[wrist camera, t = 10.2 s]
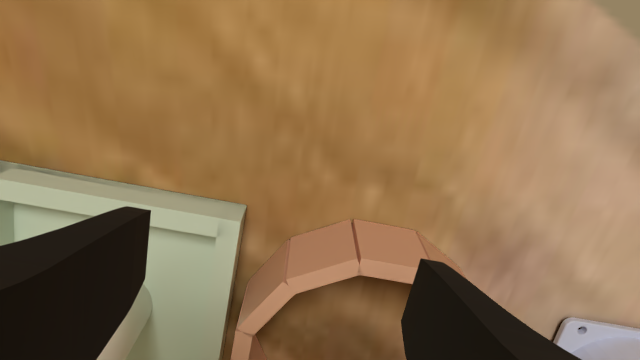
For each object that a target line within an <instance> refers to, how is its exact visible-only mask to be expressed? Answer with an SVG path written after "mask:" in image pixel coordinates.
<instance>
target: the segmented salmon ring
mask: <svg viewBox="0 0 640 360" xmlns="http://www.w3.org/2000/svg"><path fill="white" fill-rule="evenodd" d="M421 258H422V259H428V260H433V261H439V262H443V263H445V264H447V265H448V266H450V267H451V268H453V269H454V270H455V271H457V272H458V273H459V274H461V275H462V276H463V277H464V278H466V277H465V276H464V274H463V272H462V270H461V269H460V267H459V266H457V265H456V264H455V263H454V262H453V261H451V260H450V259H449V258H448V257H447V256H446V255H444V254H443V253H442V252H441V251H440V250H439V249H437V248H436V247H435V246H434V245H433V244H431V243H430V242H429V241H428V240H427V239H426V238H424V237H423V236H422V235H421V234H420V233H419V232H415V230H411V229H406V228H400V227H395V226H389V225H384V224H378V223H373V222H367V221H362V220H356V219H353V223H351V220H350V219H349V220H346V221H343V222H339V223H336V224H333V225H330V226H326V227H323V228H320V229H317V230H313V231H310V232H307V233H304V234H301V235H297V236H294V237H291V240H287V241H286V242H285V243H284V244H283V245H282V246H281V247H280V248H279V249H278V250H277V251H276V252H275V253H274V254H273V255H272V257H271V258H270V259H269V260H268V261H267V262H266V263H265V264H264V265H263V266H262V267H261V268H260V269H259V270H258V271H257V272H256V273H255V274H254V275H253V276H252V277H251V279H250V280H249V282H248V284H247V288H246V292H245V296H244V300H243V304H242V307H241V311H240V315H239V319H238V323H237V327H236V331H235V336H234V342H233V348H232V354H231V360H267V358H266V356H265V354H264V352H263V350H262V348H261V346H260V343H259V341H258V339H257V337H256V335H255V333H256V332H257V331H258V330H259V329H260V328H261V327H262V326H263V325H264V324H265V323H266V322H267V321H268V320H269V319H270V318H271V317H272V316H273V315H274V314H275V313H276V312H277V311H278V310H279V309H280V308H281V307H282V306H283V305H284V304H285V303H287V302H288V301H289V300H290V299H291V298H292V297H293V296H294V295H295V294H297V293H300V292H304V291H307V290H310V289H314V288H317V287H321V286H324V285H327V284H331V283H334V282H337V281H341V280H344V279H348V278H351V277H354V276H358V275H363V276H369V277H375V278H380V279H386V280H392V281H398V282H404V283H409V284H413V281H414V278H415V275H416V272H417V269H418V265H419V262H420V259H421Z"/></svg>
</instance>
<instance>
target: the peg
mask: <svg viewBox="0 0 640 360" xmlns="http://www.w3.org/2000/svg"><path fill="white" fill-rule="evenodd" d="M151 311H152V299H151V295H150V293H149V291H148V289H147V288H146V286H145V285H144V284H142V287H141V289H140V291H139V293H138V295H137V297H136V299H135V301H134V303H133V305H132V307H131V309H130V311H129V312H128V314H127V315H126V317H125V318H124V320H123V321H122V323H121V324H120V326H119V327H118V329H117V330H116V332H115V333H114V335H113V336H112V338H111V339H110V341H109V342H108V343H107V345H106V346H105V348H104V349H103V351H102V352H101V354H100V355H99V357H98V358H97V360H125V359H126V357H127V356H128V354H129V352H130V350H131V349H132V347H133V345H134V343H135V341H136V340H137V338H138V336H139V334H140V333H141V331H142V329H143V327H144V326H145V324H146V322H147V320H148V318H149V317H150V314H151Z"/></svg>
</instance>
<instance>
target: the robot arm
mask: <svg viewBox="0 0 640 360" xmlns="http://www.w3.org/2000/svg"><path fill="white" fill-rule="evenodd" d="M150 217H151V210H146V209H141V208H135V207H129V206H126V207H121V208H117V209H114V210H111V211H108V212H105V213H102V214H100V215H97V216H94V217H91V218H88V219H86V220H83V221H80V222H77V223H74V224H71V225H69V226H66V227H63V228H60V229H56V230H53V231H50V232H47V233H44V234H40V235H37V236H34V237H31V238H28V239H24V240H21V241H17V242H13V243H9V244H5V245H2V246H0V360H97V358H98V357H99V355H100V354H101V352H102V351H103V349H104V348H105V346H106V345H107V343H108V342H109V341H110V339H111V338H112V336H113V335H114V333H115V332H116V330H117V329H118V327H119V326H120V324H121V323H122V321H123V320H124V318H125V317H126V315H127V314H128V312H129V311H130V309H131V307H132V305H133V303H134V301H135V299H136V297H137V295H138V293H139V291H140V289H141V287H142V284H143V282H144V280H145V276H146V264H147V252H148V240H149V229H150ZM401 325H402V334H403V342H404V349H405V355H406V359H407V360H640V329H638V328H632V327H626V326H621V325H615V324H609V323H603V322H597V321H591V320H586V319H580V318H574V317H570V318H567V319H565V320H564V321H563V322H562V324H561V326H560V328H559V330H558V332H557V335H556V337H555V339H554V341H553V342H551V341H550V340H548V339H547V338H545V337H543V336H542V335H540V334H539V333H537V332H536V331H534V330H533V329H531V328H530V327H528V326H527V325H526V324H524V323H523V322H521V321H520V320H519V319H517V318H516V317H514V316H513V315H512V314H510V313H509V312H508V311H506V310H505V309H504V308H502V307H501V306H500V305H498V304H497V303H496V302H495V301H493V300H492V299H491V298H489V297H488V296H487V295H486V294H484V293H483V292H482V291H481V290H479V289H478V288H477V287H476V286H474V285H473V284H472V283H471V282H469V281H468V280H467V279H466V278H464V277H463V276H462V275H461V274H459V273H458V272H457V271H455V270H454V269H453V268H451V267H450V266H448V265H447V264H445V263H443V262H439V261H433V260H428V259H422V258H421V259H420V262H419V265H418V269H417V272H416V275H415V278H414V281H413V285H412V288H411V291H410V294H409V297H408V301H407V304H406V307H405V310H404V313H403V317H402V320H401ZM580 327H582V328H581V329H579V330H578V328H580Z"/></svg>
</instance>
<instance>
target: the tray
mask: <svg viewBox="0 0 640 360" xmlns="http://www.w3.org/2000/svg"><path fill="white" fill-rule="evenodd" d="M126 206H129V207H135V208H141V209H146V210H151V217H150V229H149V240H148V252H147V264H146V276H145V280H144V282H143V284H144V285H145V286H146V288H147V289H148V291H149V293H150V295H151V299H152V311H151V314H150V317H149V318H148V320H147V322H146V324H145V326H144V327H143V329H142V331H141V333H140V334H139V336H138V338H137V340H136V341H135V343H134V345H133V347H132V349H131V350H130V352H129V354H128V356H127V357H126V359H125V360H222V357H223V351H224V345H225V339H226V332H227V326H228V320H229V314H230V307H231V301H232V295H233V289H234V283H235V276H236V270H237V264H238V258H239V252H240V245H241V239H242V233H243V227H244V221H245V214H246V208H247V205H243V204H238V203H232V202H227V201H221V200H216V199H210V198H205V197H199V196H194V195H188V194H183V193H177V192H172V191H166V190H161V189H155V188H150V187H144V186H139V185H133V184H128V183H122V182H116V181H111V180H105V179H100V178H94V177H89V176H83V175H78V174H72V173H67V172H61V171H56V170H50V169H45V168H39V167H34V166H28V165H23V164H17V163H12V162H6V161H1V160H0V246H2V245H5V244H9V243H13V242H17V241H21V240H24V239H28V238H31V237H34V236H37V235H40V234H44V233H47V232H50V231H53V230H56V229H60V228H63V227H66V226H69V225H71V224H74V223H77V222H80V221H83V220H86V219H88V218H91V217H94V216H97V215H100V214H102V213H105V212H108V211H111V210H114V209H117V208H121V207H126Z"/></svg>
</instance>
